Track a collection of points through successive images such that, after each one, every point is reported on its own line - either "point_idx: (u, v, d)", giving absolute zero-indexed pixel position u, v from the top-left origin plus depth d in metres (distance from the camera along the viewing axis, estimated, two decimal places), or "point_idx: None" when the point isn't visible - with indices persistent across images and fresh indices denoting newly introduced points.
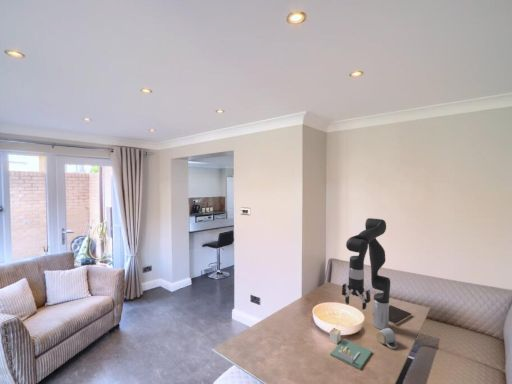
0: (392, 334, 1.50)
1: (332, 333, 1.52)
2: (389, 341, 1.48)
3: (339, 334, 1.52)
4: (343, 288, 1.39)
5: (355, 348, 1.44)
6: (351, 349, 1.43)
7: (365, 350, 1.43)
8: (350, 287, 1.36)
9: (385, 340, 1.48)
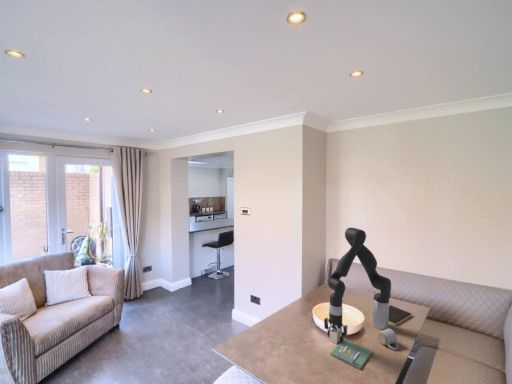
0: (393, 335, 1.49)
1: (332, 333, 1.52)
2: (390, 342, 1.48)
3: (339, 334, 1.52)
4: (325, 322, 1.56)
5: (355, 348, 1.44)
6: (351, 349, 1.43)
7: (365, 350, 1.43)
8: (330, 321, 1.54)
9: (386, 341, 1.47)
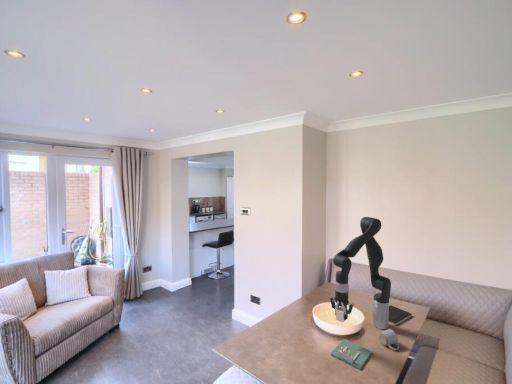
0: (394, 335, 1.48)
1: (338, 311, 1.49)
2: (391, 342, 1.47)
3: None
4: (331, 301, 1.54)
5: (355, 348, 1.44)
6: (351, 349, 1.43)
7: (365, 350, 1.43)
8: (336, 299, 1.52)
9: (387, 342, 1.46)
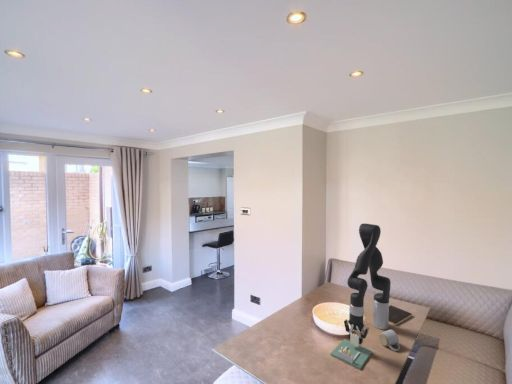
0: (395, 336, 1.48)
1: (353, 335, 1.44)
2: (392, 343, 1.46)
3: None
4: (345, 324, 1.48)
5: (355, 348, 1.44)
6: (351, 349, 1.43)
7: (365, 350, 1.43)
8: (350, 322, 1.46)
9: (388, 343, 1.46)
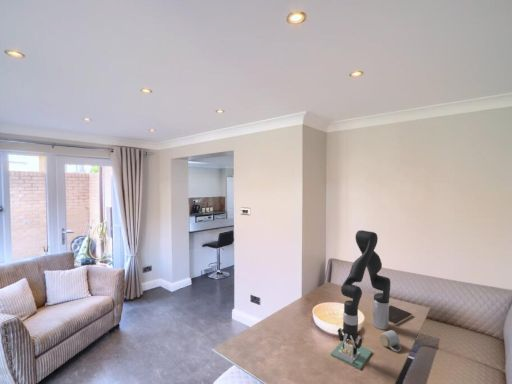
0: (396, 337, 1.47)
1: (347, 345, 1.38)
2: (393, 344, 1.46)
3: None
4: (339, 333, 1.42)
5: None
6: None
7: (365, 350, 1.43)
8: (344, 331, 1.40)
9: (389, 343, 1.45)
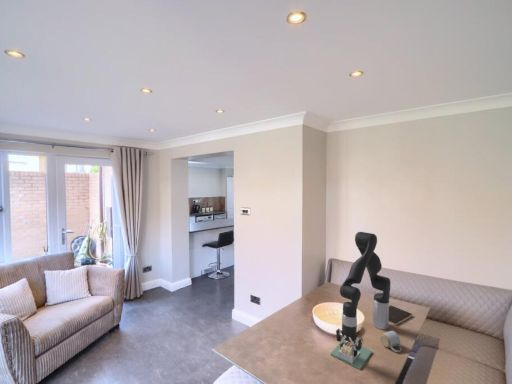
0: (397, 337, 1.47)
1: (346, 347, 1.37)
2: (393, 344, 1.45)
3: (353, 348, 1.38)
4: (337, 334, 1.41)
5: None
6: None
7: (365, 350, 1.43)
8: (343, 332, 1.39)
9: (389, 344, 1.45)
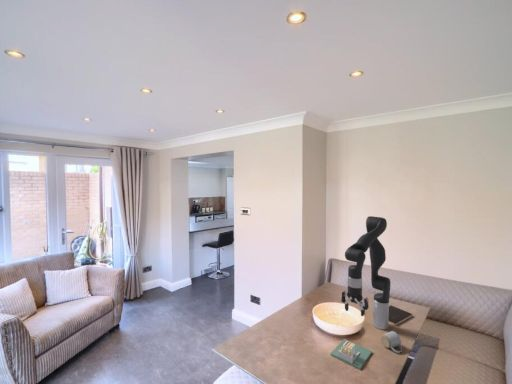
0: (397, 338, 1.46)
1: (346, 347, 1.37)
2: (394, 345, 1.45)
3: (353, 348, 1.38)
4: (342, 296, 1.46)
5: (355, 348, 1.44)
6: None
7: (365, 350, 1.43)
8: (349, 295, 1.43)
9: (390, 344, 1.44)
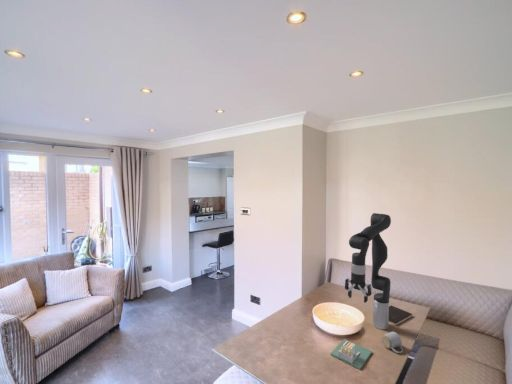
0: (398, 338, 1.46)
1: (346, 347, 1.37)
2: (395, 345, 1.44)
3: (353, 348, 1.38)
4: (346, 283, 1.49)
5: (355, 348, 1.44)
6: None
7: (365, 350, 1.43)
8: (352, 282, 1.46)
9: (391, 345, 1.44)
